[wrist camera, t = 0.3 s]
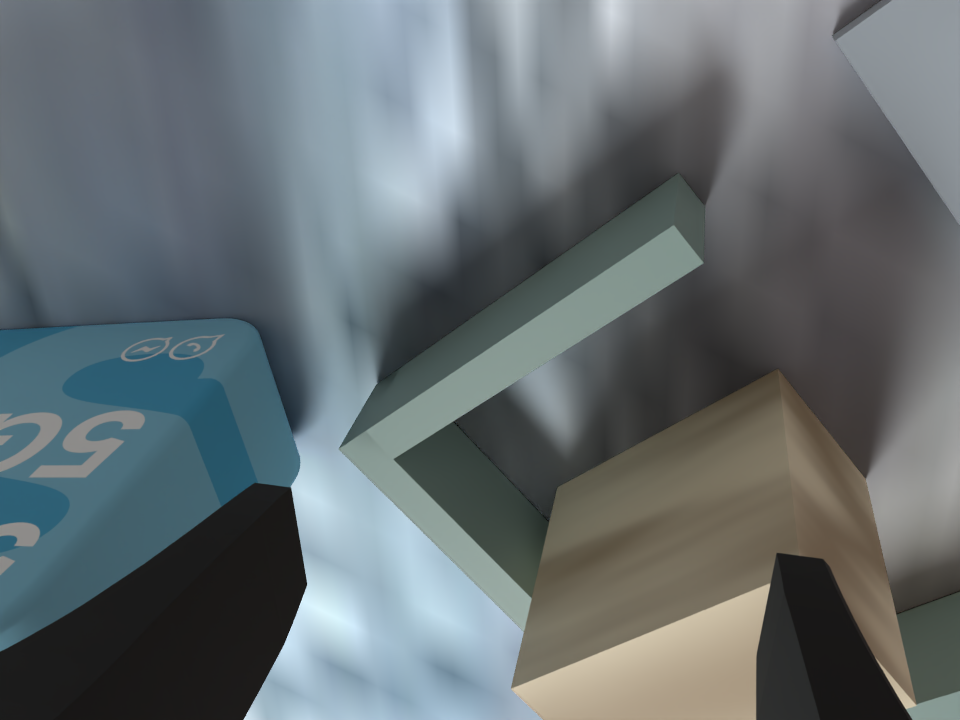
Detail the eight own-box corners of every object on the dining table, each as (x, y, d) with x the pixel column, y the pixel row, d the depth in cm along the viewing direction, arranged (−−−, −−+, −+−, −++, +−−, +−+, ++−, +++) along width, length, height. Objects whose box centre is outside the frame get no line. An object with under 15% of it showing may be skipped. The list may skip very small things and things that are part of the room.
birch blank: (865, 478, 23) (916, 705, 17) (642, 577, 26) (622, 795, 21) (777, 367, 22) (800, 570, 16) (557, 486, 25) (510, 688, 19)
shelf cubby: (1011, 603, 24) (1046, 696, 21) (695, 713, 29) (693, 799, 26) (678, 172, 20) (673, 224, 17) (376, 384, 25) (338, 448, 22)
